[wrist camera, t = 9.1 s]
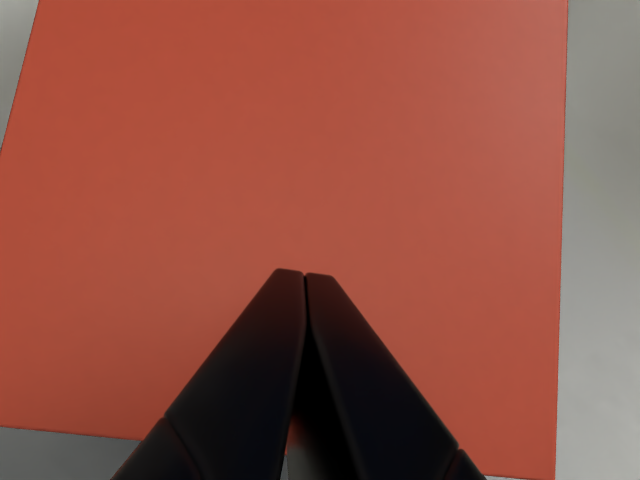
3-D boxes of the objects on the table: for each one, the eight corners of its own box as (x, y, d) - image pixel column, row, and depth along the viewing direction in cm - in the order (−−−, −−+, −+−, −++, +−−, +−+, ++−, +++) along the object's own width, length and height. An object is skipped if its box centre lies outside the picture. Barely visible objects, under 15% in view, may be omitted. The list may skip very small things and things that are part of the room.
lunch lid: (102, -192, 14) (94, -223, 14) (555, -85, 16) (572, -107, 15) (-49, 416, 11) (-71, 420, 10) (536, 475, 13) (556, 482, 12)
